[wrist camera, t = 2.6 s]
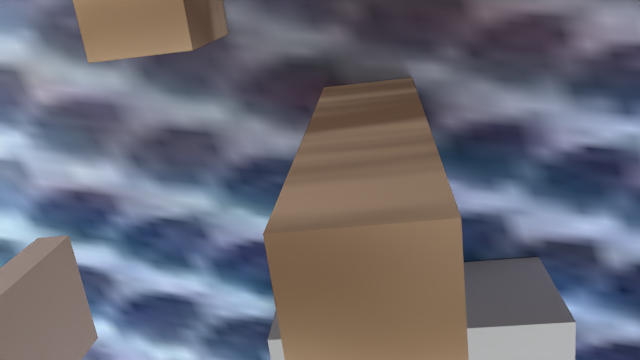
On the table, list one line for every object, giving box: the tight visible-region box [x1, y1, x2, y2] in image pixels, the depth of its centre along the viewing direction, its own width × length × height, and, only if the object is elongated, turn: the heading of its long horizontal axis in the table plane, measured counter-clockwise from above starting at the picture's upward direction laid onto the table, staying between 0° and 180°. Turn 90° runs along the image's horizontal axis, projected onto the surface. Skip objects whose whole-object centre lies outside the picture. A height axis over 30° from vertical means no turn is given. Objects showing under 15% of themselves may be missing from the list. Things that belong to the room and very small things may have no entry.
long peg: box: [263, 78, 469, 360], centre depth 18 cm, size 4×4×14 cm
